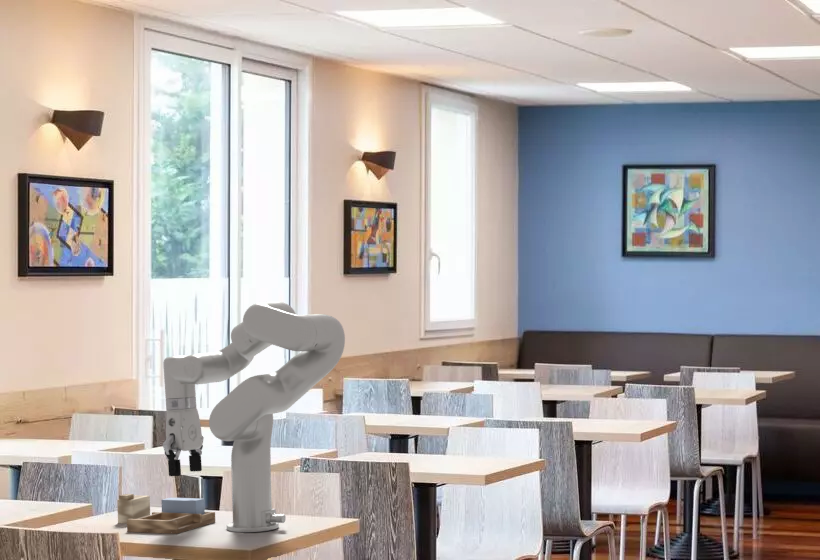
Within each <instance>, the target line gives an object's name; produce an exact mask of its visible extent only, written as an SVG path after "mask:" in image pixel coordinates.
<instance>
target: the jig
mask: <svg viewBox="0 0 820 560" xmlns="http://www.w3.org/2000/svg"><path fill="white" fill-rule="evenodd" d="M213 523H216V511H205V514H203V515H202V514H192V513H166V512H162V511H161V512H159V511H152V512H151V514H150V515H149V516H145V517H141V518H138V519H127V524H126V532H128V533H129V532H130V533H149V534H150V533H151V534H170V535H171V534H172V535H174V534H175V535H178V534H181V533H184V532H188V531H190V530H193V529H197V528H201V527H204V526H207V525H211V524H213Z"/></svg>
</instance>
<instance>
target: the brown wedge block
mask: <svg viewBox="0 0 820 560" xmlns="http://www.w3.org/2000/svg"><path fill="white" fill-rule="evenodd" d="M134 494H135V493H123V494H119V495H118V499H116V501H117V524H126V525H127V519H138V518H141V517H145V516H149V515H151V496H150V495H139V494H135V495H134Z"/></svg>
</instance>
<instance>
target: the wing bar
mask: <svg viewBox="0 0 820 560" xmlns="http://www.w3.org/2000/svg"><path fill="white" fill-rule="evenodd" d="M161 512H166V513H192V514H202V515H203V514H205V512H206V511H205V498H192V497H191V498H190V497H167V498H163V499H161Z"/></svg>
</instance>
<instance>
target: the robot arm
mask: <svg viewBox="0 0 820 560" xmlns="http://www.w3.org/2000/svg"><path fill="white" fill-rule="evenodd" d="M230 341H231V343H230V344H228V345H226V346H225V347H223V348H222V349H220V350H218V351H215V352H214V351H213V352H202V353H194V354H190V355H173V356H167V357H166V358H164V359H163V379H164V393H165V394H164V395H165V409H166V411H165V412H166V418H165V419H166V420H165V441H163V442H162V448H163V451H164V454H165V456H166V460H167V466H168V467H167V469H168V477H181V475H182V470H181V469H182V467H181V459H179V457H180V455H181V452H182V451H183V452H187V451H188V453H189V454H190V455H188V460H189V461H188V462H189V472H201V471H202V470H203V469H202V455H203V454H202V453H203V451H202V450H203V448H204V446H203V444H204V438H205V437H204V436H203V435H202V426H201V418H200V415H199V414H200V413H199V410H198V408H197V396H196V395H197V393H196V385H206V384H211V383H220V382H223V381H226V380H228V379H230V378H232V377H234V376H235V375H237V374H238V373H241V371H243V370H245V369H246V368H247V367H248V366H249V365H250V364H251V363H252V361H253V360H254V357H255V356H257V355H258V354H260V353H261V352H263V351H265V350H266V349H267V348H269V347H270V346H272V345H273V346H276V347H279V348H281V349H285V350H288V351H292V352H299V353H297V354H295V355H294V356H293V357H291V358H290V359H289V360H288V361H287V362H286V363H285V364H284V365H282V366H281V367H280V368H279V369H277V370H276V371H274V372H272V373H271V372H270V373H267V374H258V375H254V376H253V375H252V376H251V377H248V378H246V379H245V380H243V381H241V383H239V384H238V385H237V386H236V387H234V389H232V390H231V391H230V392H229V393H228V394H227V395H226V396H224V397H223V398H222V399H221V400H220V401H219V402H218V403H217V404H216V405H215V406H214V407H213V409H211V410H212V411H211V413H210V416H209V419H208V425H209V426H208V427H209V429H210V431H211V433H212V435H213V436H214V437H215V438H216V439H218V440H220V441H223V442H233V444H232V448H231V449H232V450H231V456H230V457H231V458H230V461H231V462H230V464H231V465H230V466H231V468H230V469H231V499H232V503H231V505H232V522H230V523H227V524H226V530H227V531H229V532H232V533H233V532H234V533H260V532H268V531H272V530H276V529H278V528H279V526H280V525H279V524H284V523H285V522H286V514H284V513H283V514H282V513H280V514H278V513H277V511H276V510H277V509H276V508H273V506H272V503H273V502H272V499H273V498H272V472H271V471H272V470H271V469H272V467H271V464H272V463H271V447H272V446H271V443H272V434H273V429H274V427H273V426H274V414H279V413H282V412H285V411H287V410H288V409H290V408H291V407H293V405H294V404H296V403H297V402H298V401H299V400H300V399H301V398H303V396H305V395H306V394H307V393H308V392H309V391H310V390H311V389H312V388H314V387H315V385H316V384H319V382H320V381H321V380H323V379H324V378H325V377H326V376H328V374H329V373H330V372H332V371H333V369H334V368H335V367H336V366H337V364H338V363H339V362H340V360H341V358H342V356H343V354H344V349H345V343H346V335H345V331H344V327H343V325H342V323H341V322H340V321H339V320H338V319H337V318H336V317H334V316H332V315H328V314H325V313H324V314H321V313H313V314H297V313H296V311H295V309H294V308H293V307H292V306H291V305H289V304H287V303H285V302H282V301H266V302H265V301H263V302H257V303H253V304H252V305H250V306H249V307H248V308H247V309H246V311H245V312H244V314H243V318H242V322H241V323H239V324H237V325H236V326H234V327H233V328H232V330H231V332H230Z"/></svg>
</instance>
